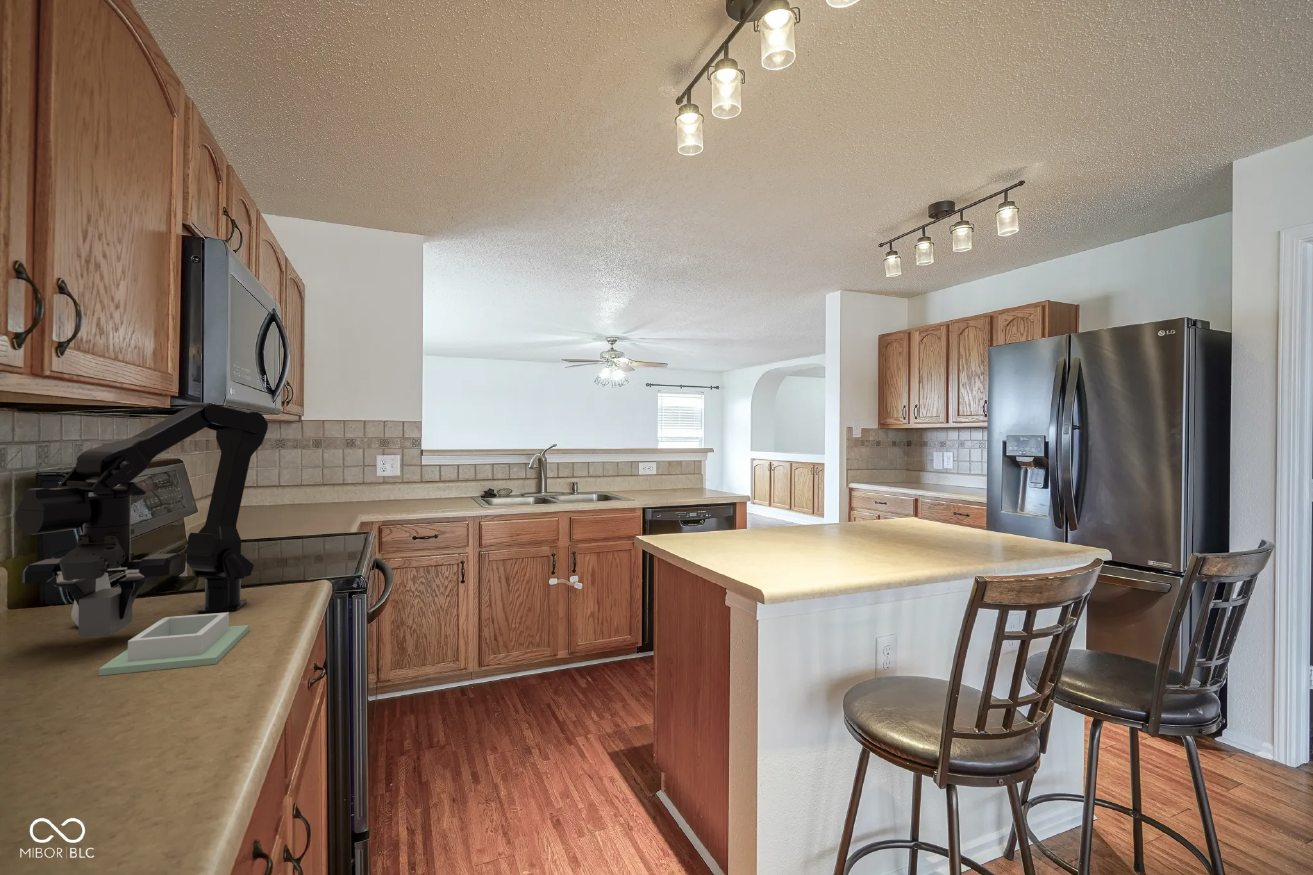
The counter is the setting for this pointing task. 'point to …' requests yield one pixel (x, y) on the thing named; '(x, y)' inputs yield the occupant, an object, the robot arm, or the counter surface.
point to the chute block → (101, 613)
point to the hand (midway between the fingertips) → (106, 619)
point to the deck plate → (178, 644)
